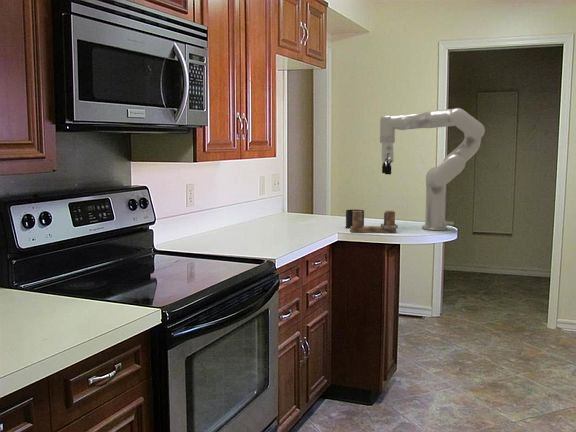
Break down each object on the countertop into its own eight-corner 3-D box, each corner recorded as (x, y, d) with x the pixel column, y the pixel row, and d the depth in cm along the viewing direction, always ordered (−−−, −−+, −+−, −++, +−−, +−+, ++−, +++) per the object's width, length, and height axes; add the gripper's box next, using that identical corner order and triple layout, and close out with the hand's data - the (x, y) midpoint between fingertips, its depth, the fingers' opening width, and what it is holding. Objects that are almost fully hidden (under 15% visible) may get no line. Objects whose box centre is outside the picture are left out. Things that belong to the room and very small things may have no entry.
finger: (393, 226, 312) (393, 210, 311) (394, 227, 308) (395, 211, 307) (383, 226, 312) (384, 210, 311) (384, 227, 308) (385, 211, 307)
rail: (395, 230, 314) (395, 210, 313) (397, 233, 307) (398, 212, 305) (350, 230, 314) (350, 210, 313) (351, 233, 307) (351, 212, 306)
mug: (368, 226, 329) (369, 209, 328) (359, 229, 319) (359, 212, 317) (352, 225, 334) (352, 208, 332) (342, 228, 323) (342, 210, 322)
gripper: (397, 140, 308) (396, 174, 311) (391, 139, 326) (391, 172, 328) (382, 140, 308) (381, 174, 311) (377, 139, 326) (377, 172, 328)
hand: (386, 173), depth 319 cm, fingers open, 9 cm apart
